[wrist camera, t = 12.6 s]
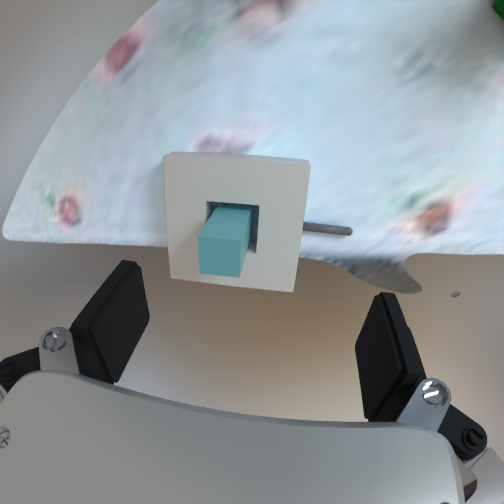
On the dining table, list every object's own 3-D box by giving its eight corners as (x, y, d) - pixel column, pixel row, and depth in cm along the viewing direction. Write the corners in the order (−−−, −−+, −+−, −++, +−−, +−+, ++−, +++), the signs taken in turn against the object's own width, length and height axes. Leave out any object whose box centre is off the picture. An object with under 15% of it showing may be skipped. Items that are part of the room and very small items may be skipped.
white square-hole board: (362, 168, 32) (369, 173, 29) (339, 283, 40) (342, 296, 37) (172, 151, 33) (163, 156, 31) (177, 266, 41) (170, 278, 38)
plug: (252, 204, 36) (241, 240, 27) (251, 234, 38) (239, 277, 29) (220, 201, 36) (197, 236, 27) (219, 231, 38) (199, 273, 29)
